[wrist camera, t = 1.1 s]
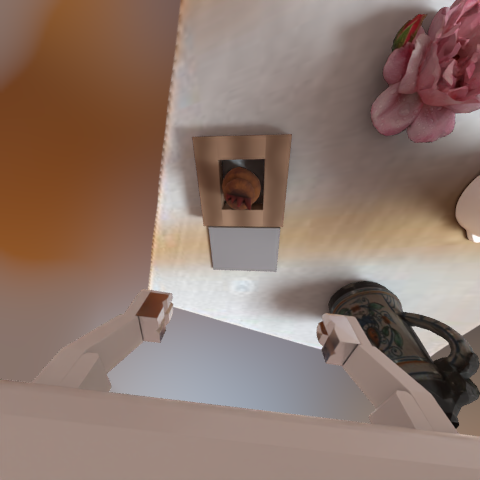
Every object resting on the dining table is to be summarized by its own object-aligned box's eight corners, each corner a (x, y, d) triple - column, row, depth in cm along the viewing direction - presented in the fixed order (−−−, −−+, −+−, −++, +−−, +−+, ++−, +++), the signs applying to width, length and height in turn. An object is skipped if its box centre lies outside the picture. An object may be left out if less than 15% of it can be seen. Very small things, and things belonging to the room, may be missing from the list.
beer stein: (319, 319, 55) (359, 439, 34) (341, 267, 46) (417, 388, 24) (377, 326, 55) (455, 452, 33) (411, 274, 45) (554, 405, 23)
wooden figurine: (265, 178, 37) (270, 202, 24) (249, 202, 40) (245, 235, 27) (236, 158, 36) (223, 172, 23) (221, 184, 38) (203, 210, 25)
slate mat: (279, 227, 42) (280, 228, 41) (276, 270, 48) (276, 271, 47) (209, 226, 43) (208, 227, 43) (213, 268, 49) (213, 269, 49)
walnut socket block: (288, 134, 33) (291, 134, 30) (280, 218, 41) (282, 226, 37) (198, 136, 34) (192, 137, 31) (208, 218, 42) (203, 225, 39)
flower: (444, 152, 30) (526, 130, 20) (348, 138, 32) (382, 111, 22) (491, 40, 27) (614, -50, 17) (381, 31, 28) (436, -55, 19)
